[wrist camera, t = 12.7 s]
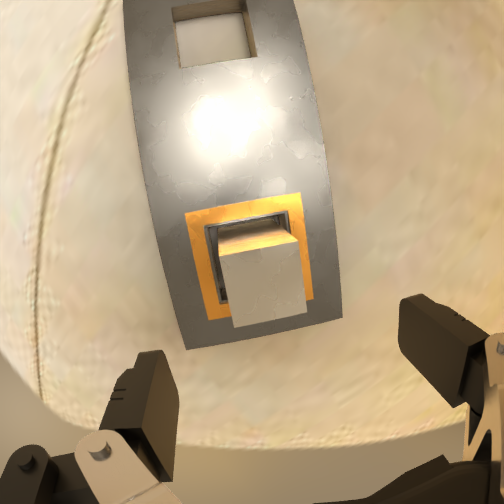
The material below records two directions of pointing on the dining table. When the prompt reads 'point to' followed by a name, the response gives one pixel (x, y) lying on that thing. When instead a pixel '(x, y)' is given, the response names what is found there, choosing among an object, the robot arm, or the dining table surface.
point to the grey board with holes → (230, 157)
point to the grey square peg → (261, 272)
